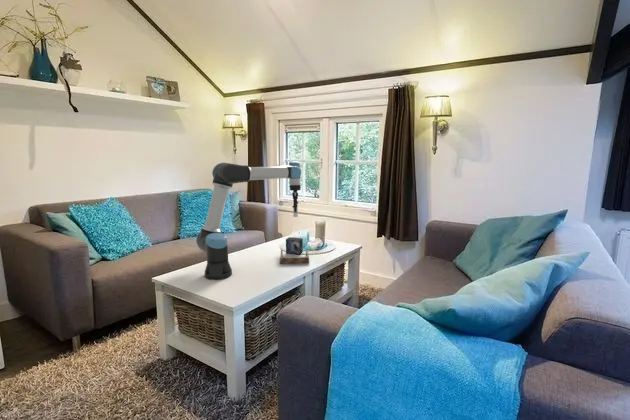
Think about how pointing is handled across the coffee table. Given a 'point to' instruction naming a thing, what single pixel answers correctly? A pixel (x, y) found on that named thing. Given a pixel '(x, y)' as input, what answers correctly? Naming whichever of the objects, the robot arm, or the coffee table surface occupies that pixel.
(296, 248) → the small box
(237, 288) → the coffee table surface
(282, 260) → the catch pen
